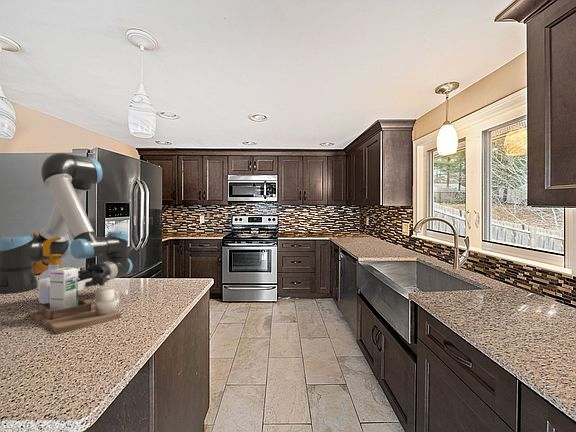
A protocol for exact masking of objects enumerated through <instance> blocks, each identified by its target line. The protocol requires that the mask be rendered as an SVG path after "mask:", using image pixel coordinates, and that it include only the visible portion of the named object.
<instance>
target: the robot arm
mask: <svg viewBox="0 0 576 432" xmlns="http://www.w3.org/2000/svg"><path fill="white" fill-rule="evenodd" d="M40 173H41V179H42V181H43V183H44V186H45V187H47V188H49V190H50V192H51V193H52V196H53V198H54V201H55V204H54V207H53V209H52V212H51V214H50V217H49V219H48V221H47V224H46V225H45V227H43V228H41V229H40V230H39V232H38V233H39V235H38V236H36V237H33V234H31V233H20V234H13V235H11V234H10V235H6V236H2V237H1V238H0V294H11V293H13V294H14V293H21V292H26V291H30V290H34V289H39V288H43V287H47V286H50V275H49V278H45V279H41V280H39V279H37V277H36V274H34V272H33V262H41V261H48V260H51V259H50V257H47V256H44V255H43V242H44V241H46V240H48V239H51V238H54V237H60V238H61V239H60V240H57V241H54V242H52V243H51V245H50V255H53V254H60V255H63V256H59V257H58V259H60V258H61V259H63V258H65V257H67V255H69V253H70V254H71V255H72V257H73V258H74V259H78V260H82V259H84V260H85V259H90V258H97V257H104V256H107V261H104V262H99V263H96V264H93V265H91V266H89V267H88V269H87V270H83V271H79V270H78V282H76V291H78V292H79V291H82V290H85V289H88V288H91V287H93V286H94V287H95V286H98V285H99V286H101V287H102V286H104V285H105V283H108V282H109V281H110V280H114V279H117V278H120V277H121V278H122V277H124V276H126V275H128V274H130V273H131V272H132V270H133V262H132V260H131V259H129V258H128V257H129V256H128V248H129V247H128V246H129V244H128V243H129V239H128V237H129V236H128V232H127V231H123V230H114V231H113V230H111V231H108V232H107V235H106V236H102V237H101V236H99V237H98V235H97V234H96V232H95V231H94V228H93V225H92V224H91V222H90V219H89V217H88V215H87V212H86V211H85V209H84V207H83V205H82V203H81V202H82V199H83V197H84V195H85V192H87V191H90V190H91V189H92V185H96V184H99V183H100V182H101V181H102V179H103V168H102V165H101V164H100V162H99V161H98V159H95V158H93V157H89V156H84V155H83V156H82V155H77V154H70V153H65V152H57V153H53V154H51V155H49V156H48V157H46V159H45V160H44V161H43V163H42V165H41V169H40ZM68 231H69V233H70V235H71V237H72V240H73V241H71V239H70V236H69V234H68Z"/></svg>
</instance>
